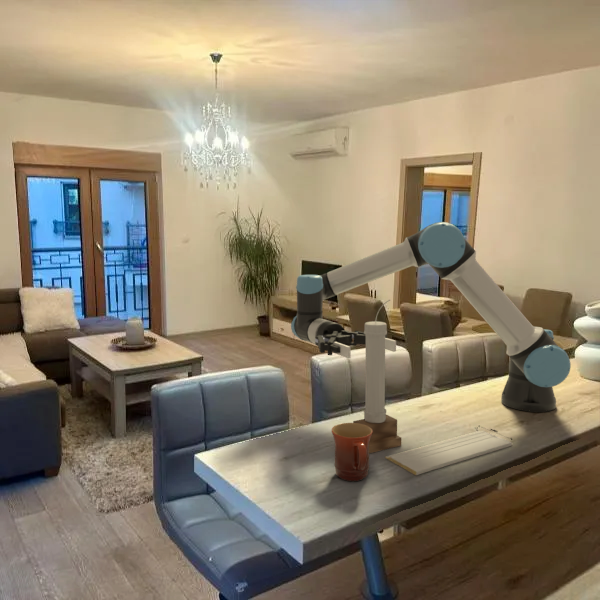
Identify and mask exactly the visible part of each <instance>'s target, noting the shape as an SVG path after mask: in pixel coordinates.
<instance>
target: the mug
mask: <svg viewBox="0 0 600 600" xmlns="http://www.w3.org/2000/svg"><path fill="white" fill-rule="evenodd" d="M372 432H373V431H372V429H371V428H370V427H369V426H367V425H364V424H359V423H353V422H343V423H338V424H336V425H334V426H332V428H331V433H332V436H333V440H334V463H333V465H334V469H335V474H336V476H337V477H338V478H340V479H341V480H344V481H347V482H359V481H363V479H365V478H366V477H368V474H369V469H370V453H369V442H370V439H371V436H372Z"/></svg>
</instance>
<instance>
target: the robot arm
mask: <svg viewBox="0 0 600 600" xmlns="http://www.w3.org/2000/svg"><path fill="white" fill-rule="evenodd" d="M476 256H477V251H476V250H475V249H474V247H473V246H472V245H471V244H470V243H469V242H468V241H467V240H466V238H465V236H464V235H463V233H462V230H460V229H459V227H457V226H456V225H454V224H451V223H450V222H446V221H445V222H444V221H438V222H434V223H433V222H432V223H431V224H429V225H427V226H426V227H424V228H423V229H421V230H420V231H418V232H416V233H414V234H411V235H410V236H406V237H405V238H404V240H403V242H401V243H398V244H396V245H394V246H391V247H388V248H387V249H383V250H380V251H378V252H376V253H373V254H370V255H368V256H365V257H363V258H360V259H358V260H355V261H353V262H351V263H348V264H345V265H342V266H341V267H338V268H336V269H332V270H330V271H328V272H327V273H323V274H320V275H318V274H300V275H298V276H297V279H296V287H295V288H296V315H295V316H293V319H292V321H291V324H290V327H291V328H290V330H291V333H293V335H294V336H295V337H297V338H298V339H300V340H302V341H304V342H308V343H311V344H314V345H315V346H317V348H318V351H319V352H320V354H324V353H325V352H326V351H327V356H333V354H336V355H338V356H341V357H344V358H346V359H351V351H352V350H351V346H357V345H365V346H366V334H364V331H359V330H354V331H348V330H345V328H344V326H343V325H342V324H340V323H338V322H333V321H331V320H328V319H324V318H323V313H324V312H323V301H325V300H328V299H329V298H330V299H331V298H332V297H335V296H337V295H339V294H342V293H345V292H348V291H351V290H352V289H355V288H358V287H360V286H364V285H365V284H368V283H371V282H374V281H377V280H379V279H381V278H384V277H386V276H390V275H392V274H395V273H397V272H400V271H403V270H405V269H407V268H410V267H415V268H420V267H422V266H426V265H429V266H430V268H432V270H433V272H435V273H436V274H437V275H438V276H439V277H440V279H441V280H445V281H446V280H447V281H450V282H451V283H452V284H453V285H454V286H455V287H456V288H457V290H458V291H459V292H460V293H461V294H462V295H463V297H464V298H465V299H466V300H467V301H468V302H469V304H470V305H471V306H472V307H473V308H474V310H476V312H478V314H479V315H480V317H482V318H483V320H484V321H485V322H486V323H487V324H488V325H489V327H490V328H491V329H492V330H493V331H494V332H495V333H496V335H497V336H498V337H499V339H501V341H502V342H503V343H504V344H505V345H506V355H507V356H508V357H509V359H508V360H509V362H508V376H507V377H508V378H507V381H506V383H505V385H504V388H503V391H502V392H501V403H502V404H503V405H504V406H506V407H509V408H510V409H512V410H513V409H514V410H518V411H523V412H530V413H532V412H533V413H546V412H551V411H554V410H555V409H556V407H557V398H556V397H555V392H554V388H553V387H556V386H558V385H560V384H562V383H563V382H564V381H565V380H566V379H567V377H569V374H570V371H571V365H572V364H571V360H570V357H569V355H568V353H567V352H566V350H565V349H564V348H561V347H560V346H559V345H558V344H557V343H556V342H555V341H554V340H555V336H554V331H552V330H551V329H545V328H543V327H542V326H541V327H540V326H534V325H532V323H531V322H530V321H529V320H528V318H526V316H525V314H523V313H522V311H521V310H520V309H519V308H518V307H517V306H516V304H514V302H513V301H512V300H511V299H510V298H509V296H508V295H507V294H506V293H505V291H504V290H502V289H501V287H500V286H499V285H498V283H496V282H495V281H494V279H493V278H492V277H491V276H490V274H489V273H487V271H486V270H485V269H484V268H483V266H481V264H480V263H479V262H478V261H477V260H476ZM385 350H386V351H389V352H393V353H394V352H395V353H396V352H397V340H396V339H395V340H394V339H392V338H388V334H386V335H385Z"/></svg>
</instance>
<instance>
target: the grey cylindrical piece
mask: <svg viewBox="0 0 600 600" xmlns="http://www.w3.org/2000/svg"><path fill="white" fill-rule="evenodd" d="M390 301H391V299H388V300H387V301H386V302H384V303H383V304H382V305H381V306H380V308H378V310H377V313H376V315H375V316H376V317H375V320H374V321H367V322H365V323H364V331H363V332H364V334H366V345H365V385H364V386H365V388H364V389H365V391H364V392H365V397H364V398H365V401H364V402H365V403H364V405H365V407H364V408H363V413H364V414H363V415H364V416H363V419H365V421H367V422H370V423H382V422H384V421H385V419H386V415H387V409H386V408H385V407H386V404H385V401H386V397H385V396H386V349H385V335H388V331H387V327H388V326H387V325H388V324H387V323H386V322H384V321H377V320H378V319H377V318H378V315H379V312H380V310H381V309H382V308H383V306H384V305H386V304H387V303H388V302H390Z"/></svg>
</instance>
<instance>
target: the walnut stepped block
mask: <svg viewBox="0 0 600 600" xmlns="http://www.w3.org/2000/svg"><path fill="white" fill-rule="evenodd" d="M352 423H359V424H364V425H367V426H369V427H370V428H371V429H372V431H373V432H372V436H371V439H370V442H369V454H372V453H376V452H380V451H385V450H389V449H393V448H398V447H402V437H401V436H399V435H398V419H397V418H394V417H392V416H390V415H389V414H386V419H385V421H384V422H382V423H370V422H367V421H365V419H364V418H362V419H358V420H353V421H352Z"/></svg>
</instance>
